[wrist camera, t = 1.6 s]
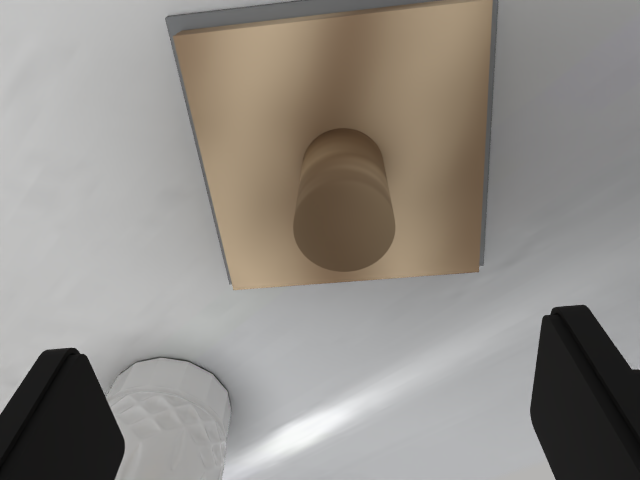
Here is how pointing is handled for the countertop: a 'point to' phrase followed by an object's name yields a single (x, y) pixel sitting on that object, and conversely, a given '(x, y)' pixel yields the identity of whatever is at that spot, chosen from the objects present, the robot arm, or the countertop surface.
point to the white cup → (170, 421)
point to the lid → (344, 141)
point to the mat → (311, 3)
